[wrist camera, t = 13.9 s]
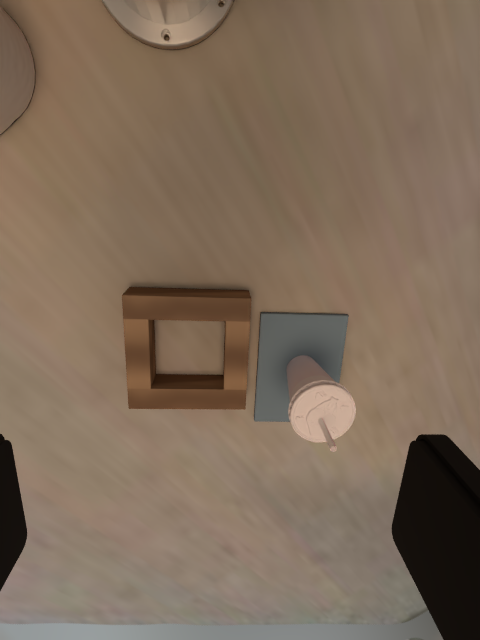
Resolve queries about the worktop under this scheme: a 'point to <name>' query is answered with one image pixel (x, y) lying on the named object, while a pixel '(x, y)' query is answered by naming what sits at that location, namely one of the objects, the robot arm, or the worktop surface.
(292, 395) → the smoothie
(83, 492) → the worktop surface
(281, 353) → the mat
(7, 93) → the toilet tissue
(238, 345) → the wooden square frame
